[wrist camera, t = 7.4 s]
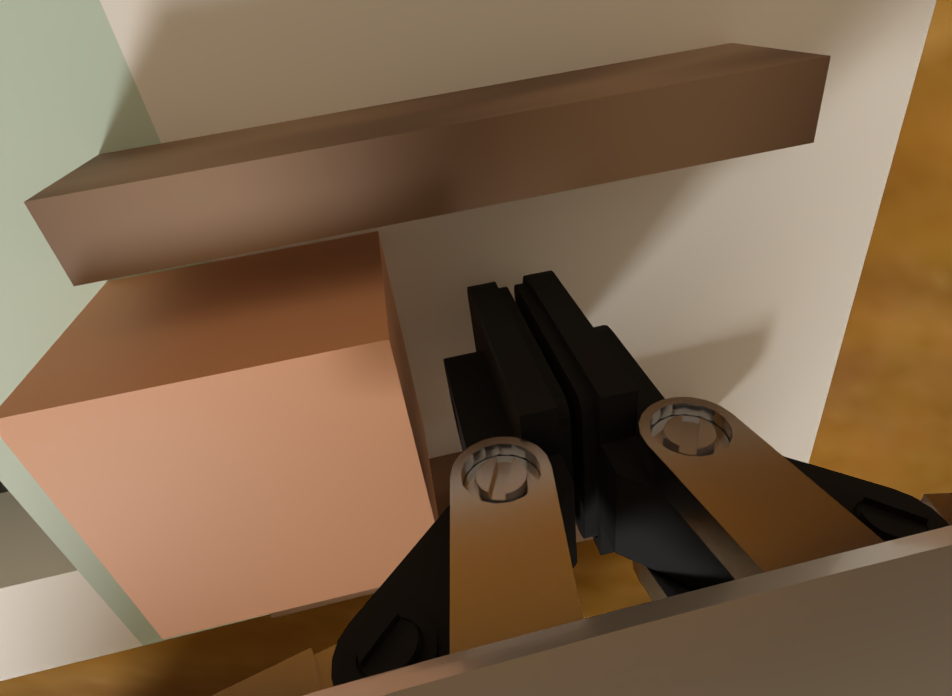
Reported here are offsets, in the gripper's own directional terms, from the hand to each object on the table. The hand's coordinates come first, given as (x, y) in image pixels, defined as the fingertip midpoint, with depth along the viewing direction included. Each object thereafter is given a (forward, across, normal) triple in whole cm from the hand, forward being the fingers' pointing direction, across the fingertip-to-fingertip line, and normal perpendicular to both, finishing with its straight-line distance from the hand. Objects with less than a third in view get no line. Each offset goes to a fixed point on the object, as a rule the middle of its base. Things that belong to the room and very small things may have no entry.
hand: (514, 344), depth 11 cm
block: (+1, +5, 0) cm, 5 cm away
